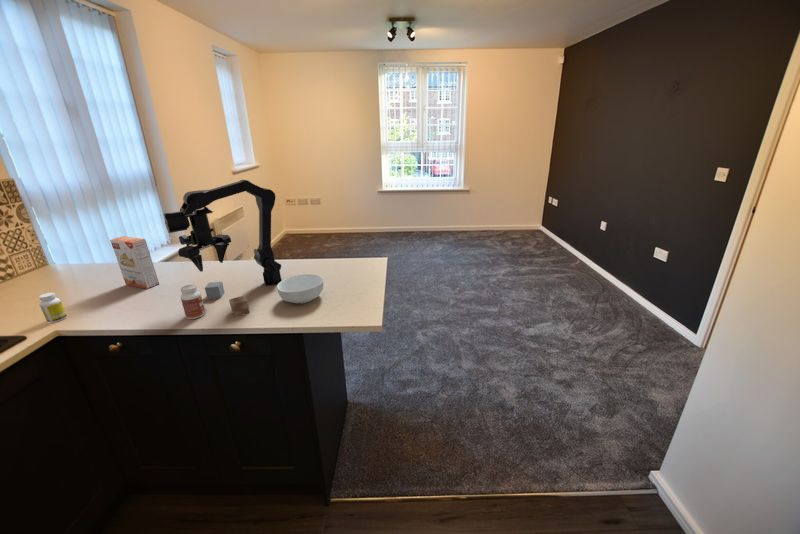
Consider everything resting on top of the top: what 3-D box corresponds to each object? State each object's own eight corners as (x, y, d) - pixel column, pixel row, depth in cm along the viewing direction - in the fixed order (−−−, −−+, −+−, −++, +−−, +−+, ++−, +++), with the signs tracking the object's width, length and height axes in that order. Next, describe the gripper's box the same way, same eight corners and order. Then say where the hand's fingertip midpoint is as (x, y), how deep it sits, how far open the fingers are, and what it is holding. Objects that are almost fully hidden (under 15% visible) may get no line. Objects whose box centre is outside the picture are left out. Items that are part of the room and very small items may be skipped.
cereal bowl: (310, 286, 147) (308, 270, 144) (333, 298, 136) (331, 281, 133) (271, 299, 136) (268, 283, 133) (293, 314, 125) (290, 296, 122)
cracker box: (124, 285, 154) (108, 239, 146) (138, 280, 159) (124, 235, 152) (146, 289, 149) (130, 242, 141) (160, 284, 154) (145, 238, 146)
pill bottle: (206, 316, 125) (199, 287, 121) (186, 321, 122) (178, 292, 118) (204, 309, 130) (197, 281, 126) (185, 314, 127) (177, 286, 123)
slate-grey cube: (224, 292, 144) (222, 281, 142) (221, 298, 139) (218, 286, 137) (211, 294, 143) (208, 282, 141) (207, 299, 138) (204, 287, 137)
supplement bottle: (71, 315, 130) (61, 291, 126) (59, 322, 125) (49, 297, 121) (55, 316, 129) (44, 292, 125) (43, 324, 124) (31, 298, 120)
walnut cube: (246, 307, 131) (243, 295, 129) (249, 313, 127) (247, 300, 125) (231, 311, 128) (229, 299, 126) (234, 317, 124) (231, 304, 122)
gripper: (205, 219, 139) (215, 256, 145) (161, 232, 123) (174, 274, 129) (227, 220, 135) (236, 259, 141) (184, 234, 119) (196, 277, 125)
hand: (211, 266), depth 134 cm, fingers open, 9 cm apart
